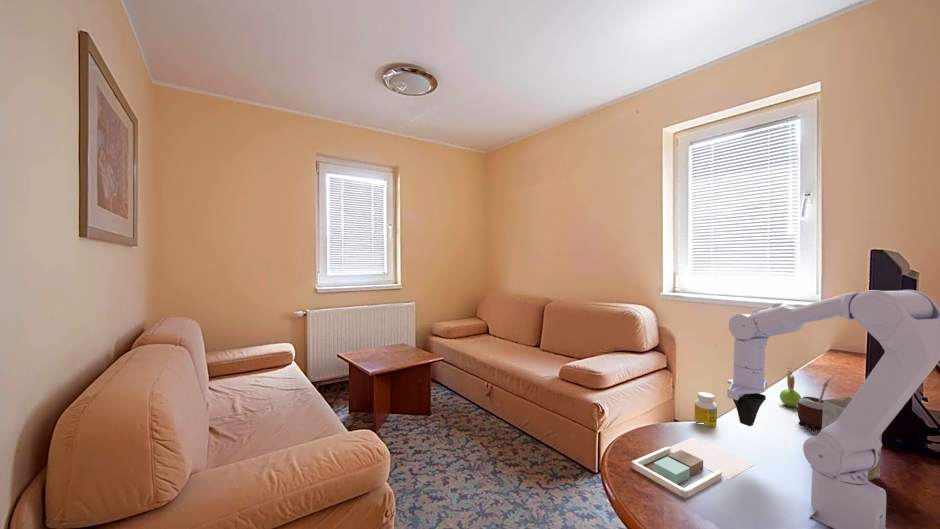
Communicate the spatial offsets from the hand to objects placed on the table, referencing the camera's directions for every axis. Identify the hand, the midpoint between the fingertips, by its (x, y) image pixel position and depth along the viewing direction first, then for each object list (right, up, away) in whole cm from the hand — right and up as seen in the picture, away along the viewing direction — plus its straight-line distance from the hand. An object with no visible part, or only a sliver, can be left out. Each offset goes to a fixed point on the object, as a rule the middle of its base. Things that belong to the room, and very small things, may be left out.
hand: (746, 424), depth 86 cm
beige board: (-8, -10, +2) cm, 13 cm away
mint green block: (-21, -9, -6) cm, 24 cm away
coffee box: (+22, -11, -2) cm, 24 cm away
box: (-19, -10, -5) cm, 22 cm away
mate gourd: (+35, -10, +21) cm, 42 cm away
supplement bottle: (+3, -10, +19) cm, 22 cm away
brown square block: (-16, -9, -3) cm, 19 cm away
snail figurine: (+41, -10, +36) cm, 56 cm away
